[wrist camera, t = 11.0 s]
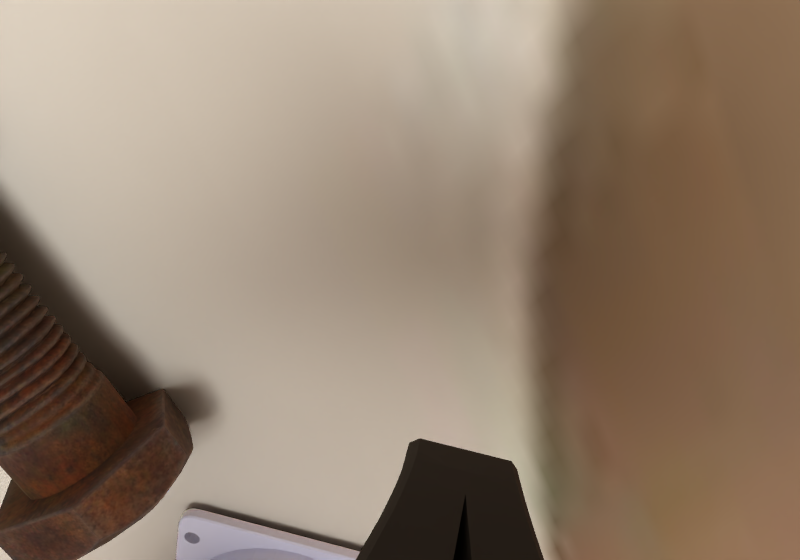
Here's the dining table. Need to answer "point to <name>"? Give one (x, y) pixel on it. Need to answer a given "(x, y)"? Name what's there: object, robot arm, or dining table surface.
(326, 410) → the dining table surface
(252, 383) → the dining table surface
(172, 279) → the dining table surface
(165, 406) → the bolt
